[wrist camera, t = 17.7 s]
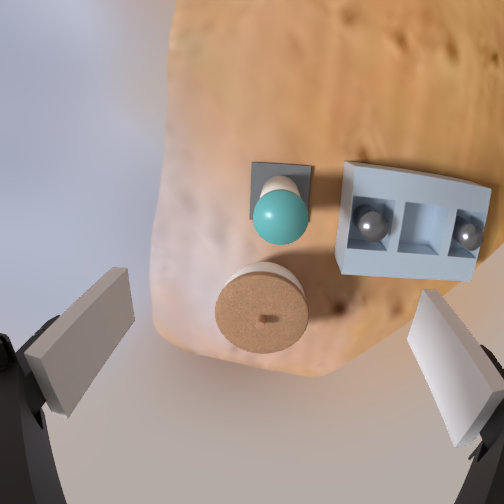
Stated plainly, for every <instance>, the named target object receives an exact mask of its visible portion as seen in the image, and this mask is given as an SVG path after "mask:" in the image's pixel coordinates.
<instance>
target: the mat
mask: <svg viewBox="0 0 504 504" xmlns="http://www.w3.org/2000/svg"><path fill="white" fill-rule="evenodd" d="M278 175H282V176H286V177H289V178H290V179H292V180H293V181H294V182H295V184H296V185H297V188H298V191H299V194H300V197H301V199H302V200H303V202H304V203H305V206H306V208H307V212H308V203H309V190H310V177H311V166H305V165H292V164H277V163H259V162H252V170H251V196H250V219H252V220H253V213H254V209H255V206H256V204H257V202H258V200H259V199H260V195H261V192H262V188H263V185H264V184H265V182H266V181H267V180H268V179H270V178H271V177H274V176H278Z"/></svg>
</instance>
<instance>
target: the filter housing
mask: <svg viewBox="0 0 504 504" xmlns="http://www.w3.org/2000/svg"><path fill="white" fill-rule="evenodd" d="M491 190H492V189H490V188H487V187H485V186H482V185H479V184H477V183H474V182H471V181H468V180H463V179H459V178H454V177H448V176H443V175H438V174H432V173H427V172H421V171H415V170H409V169H402V168H396V167H389V166H382V165H374V164H366V163H358V162H350V161H344V172H343V183H342V193H341V203H340V212H339V221H338V229H337V237H336V245H335V252H334V256H335V258H336V261H337V263H338V266H339V268H340V271H341V274H344V275H361V276H378V277H396V278H414V279H434V280H455V281H471V279H472V276H473V272H474V269H475V265H476V262H477V258H478V254H479V250H480V247H479V248H478V249H476V250H474V251H469V250H467V249H466V248H465V247H463V246H462V245H461V244H459V243H458V242H457V241H455V240H454V239H453V238H452V234H453V229H454V224H455V219H456V216H460V217H462V218H464V219H466V220H467V221H469V222H471V223H473V224H474V225H476V226H478V227H479V228H480V229H481V230H482V232H483V233H484V228H485V223H486V219H487V213H488V208H489V202H490V196H491ZM364 204H366V205H370V206H372V207H373V208H374V209H375V210H376V211H378V212H379V213H380V214H381V215H382V216H383V217H384V218H385V219H386V220H387V222H388V232H387V235H386V236H385V237H384V238H383V239H382V240H381V241H378V242H369V241H367V240H366V239H365V238H364V237H363V235H362V234H361V233H360V231H359V230H358V229H357V227H356V226H355V224H354V223H353V219H352V216H353V212H354V210H355V209H356V208H357V207H358V206H360V205H364ZM480 246H481V245H480Z"/></svg>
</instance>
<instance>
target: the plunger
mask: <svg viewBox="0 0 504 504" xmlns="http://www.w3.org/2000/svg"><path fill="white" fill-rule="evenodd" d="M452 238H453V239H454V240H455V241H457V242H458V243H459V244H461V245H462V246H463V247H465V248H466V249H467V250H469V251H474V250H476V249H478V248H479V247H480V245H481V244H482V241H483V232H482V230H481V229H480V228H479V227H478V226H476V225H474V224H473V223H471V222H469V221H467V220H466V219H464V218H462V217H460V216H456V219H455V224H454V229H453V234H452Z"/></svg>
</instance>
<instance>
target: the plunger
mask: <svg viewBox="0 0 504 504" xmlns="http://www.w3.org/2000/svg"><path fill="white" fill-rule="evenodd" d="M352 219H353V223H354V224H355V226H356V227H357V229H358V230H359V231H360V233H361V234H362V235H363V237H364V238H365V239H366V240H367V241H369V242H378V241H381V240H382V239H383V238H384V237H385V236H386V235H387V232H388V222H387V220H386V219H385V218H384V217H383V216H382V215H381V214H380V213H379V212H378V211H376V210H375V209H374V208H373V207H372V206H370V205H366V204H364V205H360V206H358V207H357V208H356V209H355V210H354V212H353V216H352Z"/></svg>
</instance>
